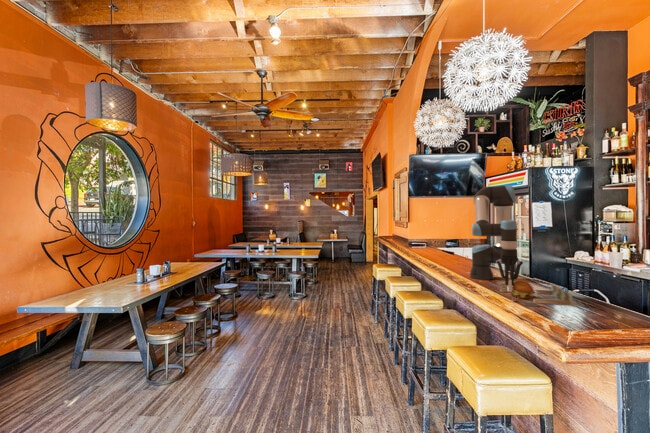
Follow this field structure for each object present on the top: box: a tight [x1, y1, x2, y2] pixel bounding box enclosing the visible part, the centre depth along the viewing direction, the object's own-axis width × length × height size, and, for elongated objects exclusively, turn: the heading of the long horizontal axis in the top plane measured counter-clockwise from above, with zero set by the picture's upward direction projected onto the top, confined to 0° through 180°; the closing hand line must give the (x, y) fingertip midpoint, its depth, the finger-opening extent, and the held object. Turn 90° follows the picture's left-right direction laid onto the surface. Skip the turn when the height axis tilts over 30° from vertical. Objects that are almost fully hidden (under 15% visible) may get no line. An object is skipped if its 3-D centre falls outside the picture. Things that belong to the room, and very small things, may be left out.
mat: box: [522, 301, 540, 308], centre depth 152 cm, size 6×7×1 cm
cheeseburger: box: [510, 280, 534, 300], centre depth 165 cm, size 10×11×10 cm
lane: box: [500, 284, 573, 306], centre depth 164 cm, size 21×26×5 cm
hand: (509, 291), depth 167 cm, fingers closed
